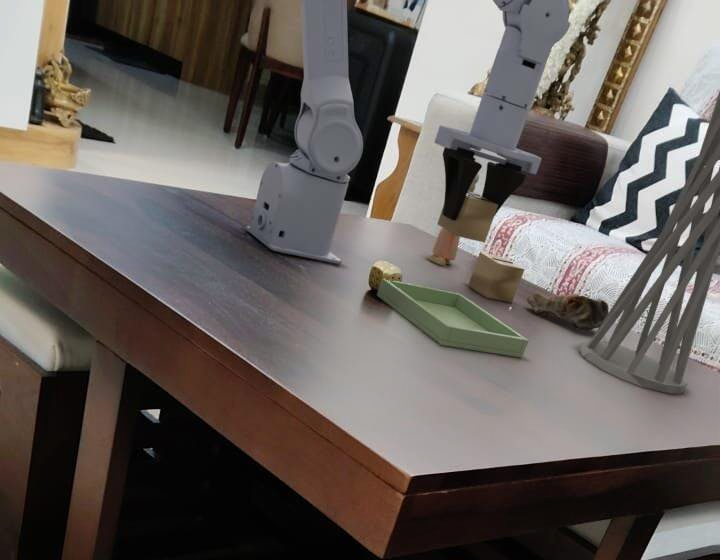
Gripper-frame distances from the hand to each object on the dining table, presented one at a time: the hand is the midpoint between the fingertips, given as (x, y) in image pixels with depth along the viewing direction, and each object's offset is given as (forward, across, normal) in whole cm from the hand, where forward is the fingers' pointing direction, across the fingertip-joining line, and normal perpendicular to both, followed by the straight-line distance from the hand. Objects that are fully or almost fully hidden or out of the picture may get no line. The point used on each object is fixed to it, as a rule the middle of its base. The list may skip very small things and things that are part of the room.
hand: (464, 221), depth 121 cm
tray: (+8, -10, -16) cm, 20 cm away
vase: (+8, +16, -21) cm, 27 cm away
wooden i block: (+8, +10, +2) cm, 13 cm away
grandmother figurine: (+8, +10, +15) cm, 20 cm away
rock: (+8, +18, -5) cm, 20 cm away
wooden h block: (+1, 0, 0) cm, 1 cm away
